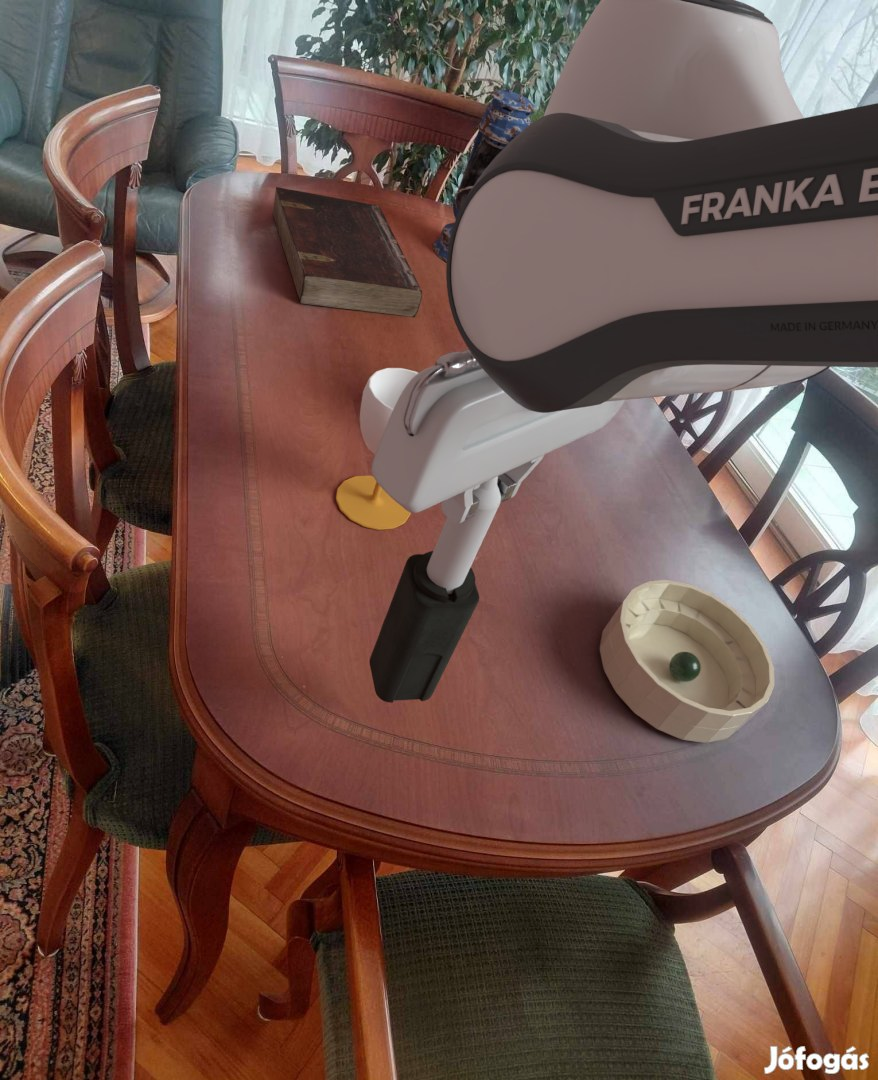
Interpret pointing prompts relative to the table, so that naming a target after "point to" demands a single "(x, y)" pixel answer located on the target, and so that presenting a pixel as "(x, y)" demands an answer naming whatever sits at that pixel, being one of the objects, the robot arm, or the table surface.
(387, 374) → the cup
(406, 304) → the hardback book
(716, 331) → the robot arm
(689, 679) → the bead
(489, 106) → the lantern
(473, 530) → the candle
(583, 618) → the table surface
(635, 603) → the bowl
